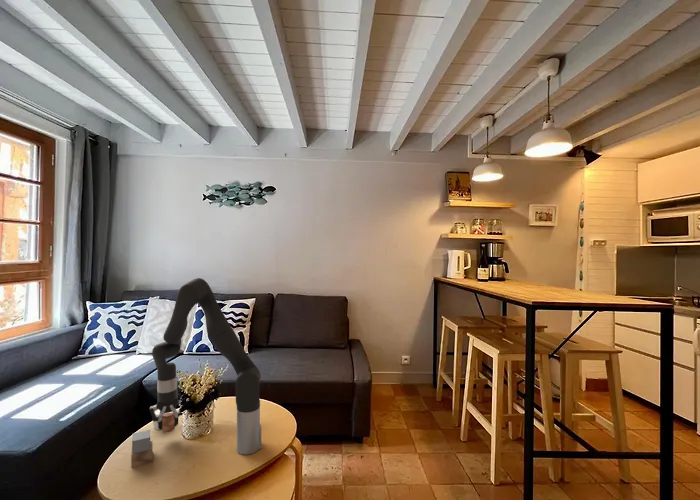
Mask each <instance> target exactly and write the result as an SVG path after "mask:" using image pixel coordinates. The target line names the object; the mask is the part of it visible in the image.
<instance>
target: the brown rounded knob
mask: <svg viewBox="0 0 700 500" xmlns="http://www.w3.org/2000/svg"><path fill="white" fill-rule="evenodd" d="M175 429H176V426H175V416H174V414H173V412H169V413H166V414H164V415H163V417H162V430H161V432H162V433H170V432H173V431H174V430H175Z"/></svg>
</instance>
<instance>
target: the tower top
mask: <svg viewBox="0 0 700 500" xmlns="http://www.w3.org/2000/svg"><path fill="white" fill-rule="evenodd" d="M131 439H132V440H131V453H132V454H135V453H139V452H143V451H147V450H150V441H151V429H148V430H143V431H138V432H134V433H133V432H132V438H131Z"/></svg>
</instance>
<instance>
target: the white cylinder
mask: <svg viewBox="0 0 700 500" xmlns="http://www.w3.org/2000/svg"><path fill="white" fill-rule="evenodd" d="M159 413H160V410H159V409H158V408H156V411H155V415H156V417H158V416H159ZM167 413H170V412H167ZM164 414H166V413H164ZM152 425H153V429H154V430H157V431H158V430H159V431H161V430H160V429H159V428H158V421H155V422H154V421H153V420H152Z"/></svg>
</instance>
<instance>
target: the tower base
mask: <svg viewBox="0 0 700 500" xmlns="http://www.w3.org/2000/svg"><path fill="white" fill-rule="evenodd" d="M153 445H154V444H153V440H150V450H147V451H143V452H139V453H135V454H132V452H131V454H130V455H131V456H130V457H131V458H130V459H131V460H130V462H131V467H130V468H135V467H139V465H140V466H144V465H147V464H151V463H153V461H154V460H153V459H154V458H153V457H154V455H153V454H154V453H153V452H154V451H153V448H154V447H153Z"/></svg>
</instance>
